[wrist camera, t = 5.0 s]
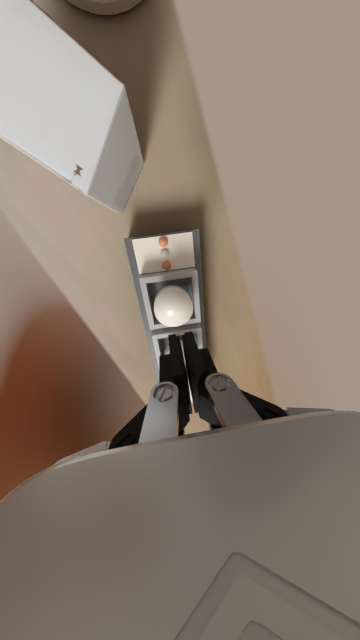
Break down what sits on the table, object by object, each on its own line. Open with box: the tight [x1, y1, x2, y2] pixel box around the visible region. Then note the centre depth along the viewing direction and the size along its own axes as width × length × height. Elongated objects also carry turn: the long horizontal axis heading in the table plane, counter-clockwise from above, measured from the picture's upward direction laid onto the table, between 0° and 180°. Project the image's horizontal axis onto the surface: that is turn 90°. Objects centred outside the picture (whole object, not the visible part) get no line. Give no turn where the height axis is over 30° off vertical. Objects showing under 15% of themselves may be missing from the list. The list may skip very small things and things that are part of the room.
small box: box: [0, 0, 144, 214], centre depth 13 cm, size 8×6×10 cm
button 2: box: [154, 285, 193, 327], centre depth 19 cm, size 4×4×2 cm
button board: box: [124, 229, 206, 403], centre depth 24 cm, size 24×8×5 cm, turn 7°
